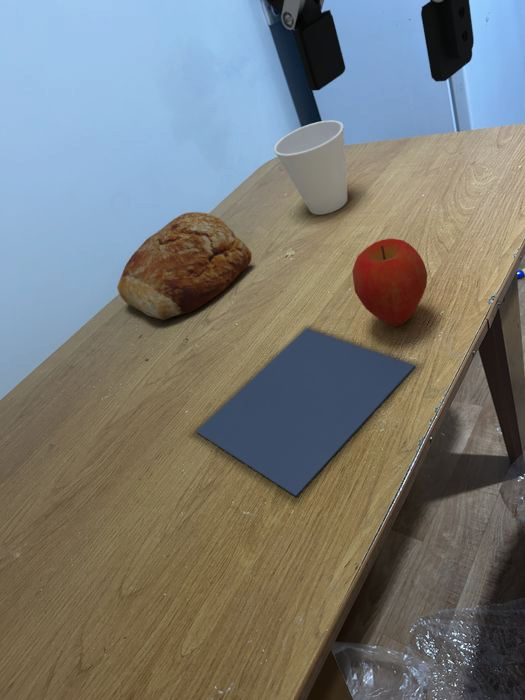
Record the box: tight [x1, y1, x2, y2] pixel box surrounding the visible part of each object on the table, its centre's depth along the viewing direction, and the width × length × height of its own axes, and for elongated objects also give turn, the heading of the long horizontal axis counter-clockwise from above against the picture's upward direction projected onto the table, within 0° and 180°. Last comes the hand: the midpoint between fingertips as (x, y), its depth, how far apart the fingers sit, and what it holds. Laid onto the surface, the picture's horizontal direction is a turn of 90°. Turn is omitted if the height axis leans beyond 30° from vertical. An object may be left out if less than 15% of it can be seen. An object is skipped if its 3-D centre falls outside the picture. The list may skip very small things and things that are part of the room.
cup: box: [273, 119, 348, 216], centre depth 98 cm, size 12×12×12 cm
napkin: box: [196, 327, 416, 498], centre depth 66 cm, size 17×20×1 cm
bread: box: [116, 211, 253, 321], centre depth 94 cm, size 20×18×10 cm
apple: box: [352, 238, 428, 327], centre depth 68 cm, size 9×8×11 cm
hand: (385, 77), depth 36 cm, fingers open, 9 cm apart
